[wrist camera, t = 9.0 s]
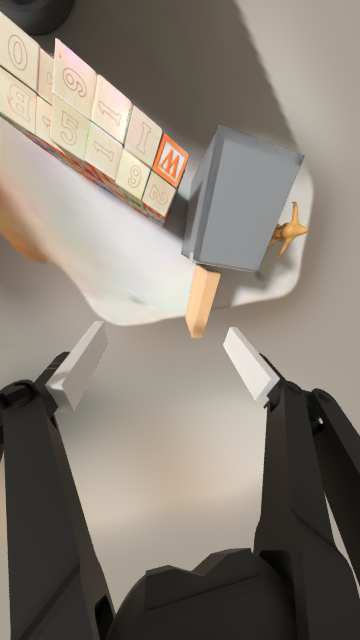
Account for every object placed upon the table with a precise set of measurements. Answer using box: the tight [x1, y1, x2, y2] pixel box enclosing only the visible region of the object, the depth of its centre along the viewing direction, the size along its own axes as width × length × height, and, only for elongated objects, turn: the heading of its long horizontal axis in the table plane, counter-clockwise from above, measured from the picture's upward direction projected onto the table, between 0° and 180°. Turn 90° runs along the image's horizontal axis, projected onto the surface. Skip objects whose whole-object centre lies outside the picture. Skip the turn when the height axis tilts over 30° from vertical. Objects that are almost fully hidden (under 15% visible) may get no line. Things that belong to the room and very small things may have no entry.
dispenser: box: [181, 124, 304, 272], centre depth 22 cm, size 12×10×13 cm
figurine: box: [268, 202, 308, 259], centre depth 25 cm, size 8×6×12 cm
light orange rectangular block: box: [186, 265, 221, 338], centre depth 31 cm, size 14×2×9 cm, turn 171°
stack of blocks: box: [0, 12, 189, 227], centre depth 17 cm, size 21×6×12 cm, turn 61°
